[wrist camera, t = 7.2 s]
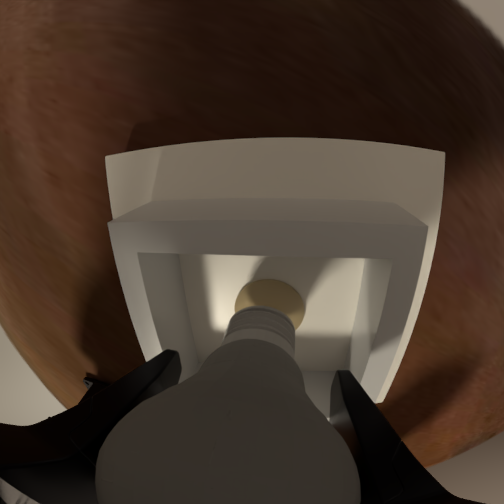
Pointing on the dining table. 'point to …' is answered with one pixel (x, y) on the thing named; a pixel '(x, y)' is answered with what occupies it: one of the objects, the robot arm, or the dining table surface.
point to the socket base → (279, 248)
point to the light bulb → (231, 431)
